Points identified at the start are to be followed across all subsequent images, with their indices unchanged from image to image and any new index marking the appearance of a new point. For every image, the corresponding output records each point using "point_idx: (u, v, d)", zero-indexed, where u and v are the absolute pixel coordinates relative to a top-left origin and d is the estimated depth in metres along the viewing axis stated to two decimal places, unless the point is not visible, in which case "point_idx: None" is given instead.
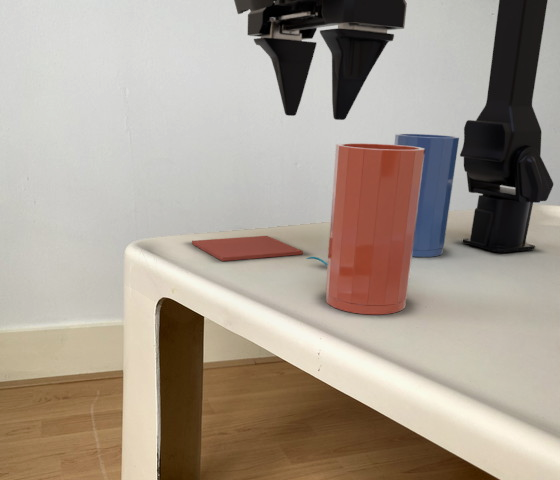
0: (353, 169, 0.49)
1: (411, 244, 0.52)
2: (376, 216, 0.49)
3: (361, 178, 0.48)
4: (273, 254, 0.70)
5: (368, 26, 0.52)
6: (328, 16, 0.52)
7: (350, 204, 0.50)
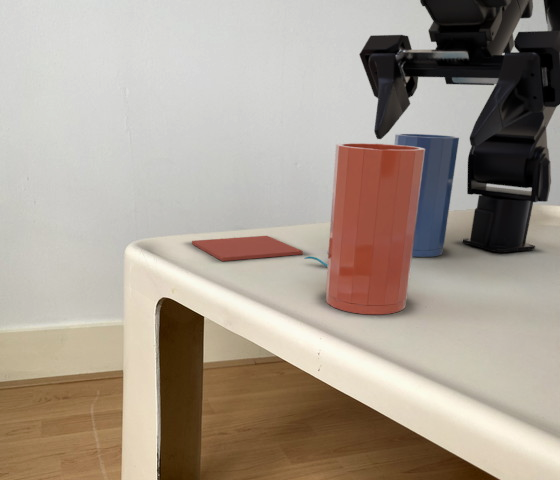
0: (353, 169, 0.49)
1: (411, 244, 0.52)
2: (376, 216, 0.49)
3: (361, 178, 0.48)
4: (273, 254, 0.70)
5: (543, 79, 0.53)
6: (526, 43, 0.52)
7: (350, 204, 0.50)
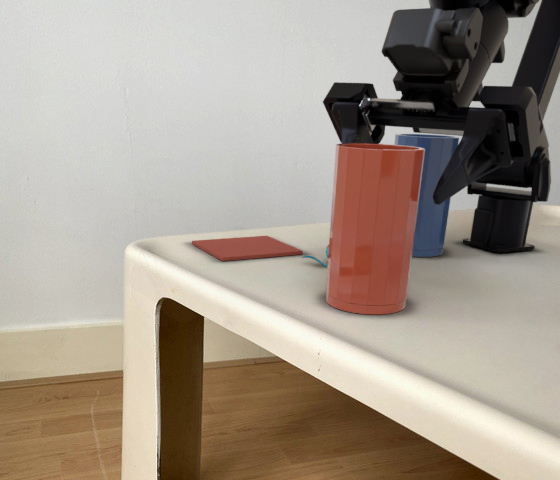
0: (353, 169, 0.49)
1: (411, 244, 0.52)
2: (376, 216, 0.49)
3: (361, 178, 0.48)
4: (273, 254, 0.70)
5: (510, 134, 0.51)
6: (491, 98, 0.49)
7: (350, 204, 0.50)
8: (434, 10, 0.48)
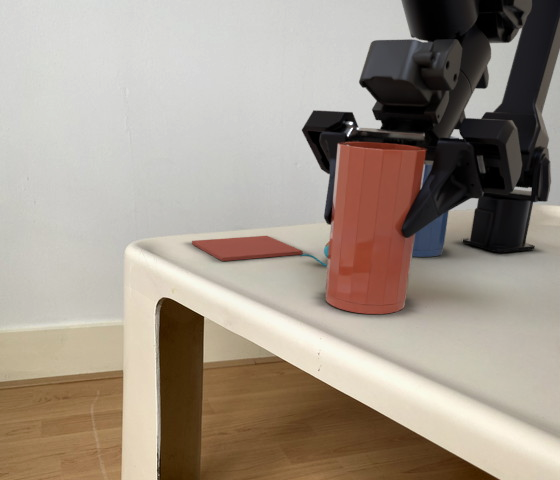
0: (354, 168, 0.49)
1: (411, 244, 0.52)
2: (376, 216, 0.49)
3: (362, 178, 0.48)
4: (273, 254, 0.70)
5: (480, 167, 0.50)
6: (471, 131, 0.48)
7: (351, 203, 0.50)
8: (412, 42, 0.47)
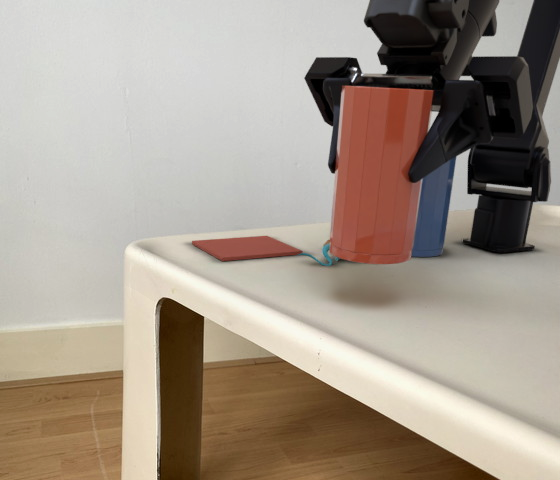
0: (359, 109, 0.47)
1: (418, 191, 0.50)
2: (382, 159, 0.47)
3: (367, 119, 0.47)
4: (273, 254, 0.70)
5: (489, 108, 0.48)
6: (480, 69, 0.46)
7: (355, 147, 0.48)
8: None
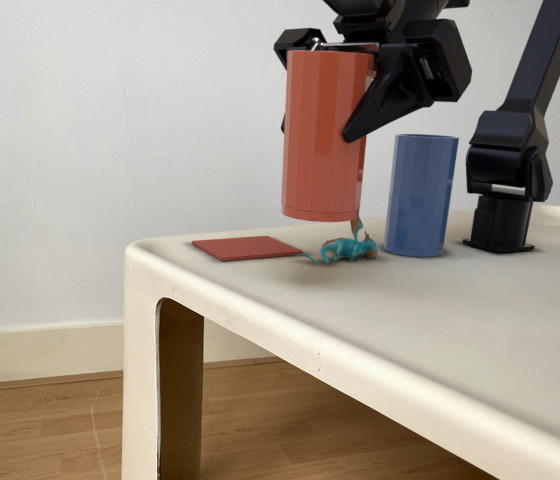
0: (296, 72, 0.50)
1: (358, 152, 0.52)
2: (316, 120, 0.50)
3: (302, 81, 0.50)
4: (273, 254, 0.70)
5: (425, 71, 0.50)
6: (411, 32, 0.48)
7: (294, 108, 0.51)
8: None
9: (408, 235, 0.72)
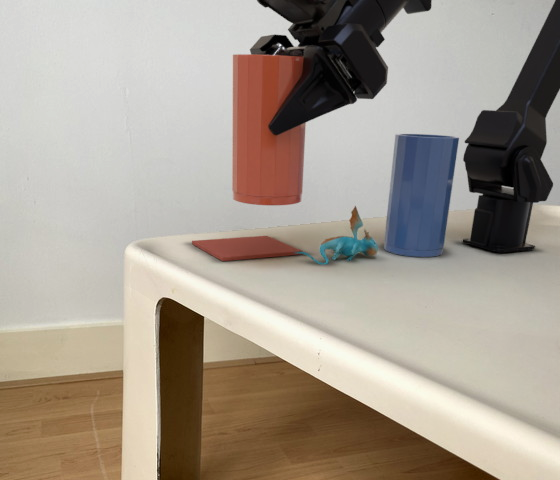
0: (234, 73, 0.58)
1: (288, 144, 0.59)
2: (248, 114, 0.58)
3: (237, 80, 0.58)
4: (273, 254, 0.70)
5: (343, 71, 0.55)
6: (324, 36, 0.54)
7: (234, 104, 0.59)
8: None
9: (408, 235, 0.72)
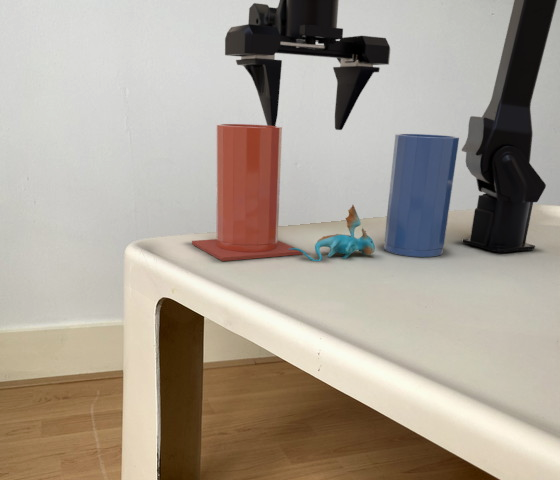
0: (216, 140, 0.68)
1: (257, 200, 0.68)
2: (223, 174, 0.68)
3: (217, 146, 0.68)
4: (273, 254, 0.70)
5: (246, 55, 0.68)
6: None
7: (216, 165, 0.69)
8: None
9: (408, 235, 0.72)
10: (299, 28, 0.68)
